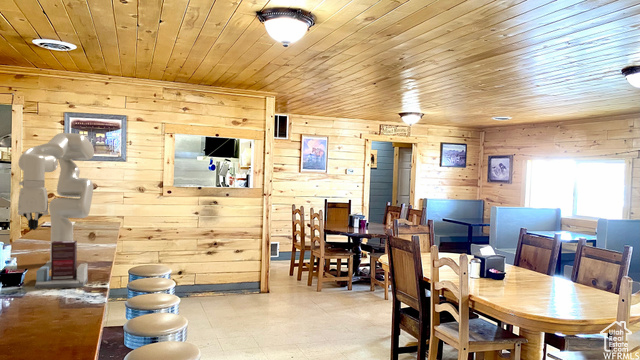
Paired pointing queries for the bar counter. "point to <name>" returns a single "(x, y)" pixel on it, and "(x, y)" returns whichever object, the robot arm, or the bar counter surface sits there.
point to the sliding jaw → (43, 273)
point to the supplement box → (63, 260)
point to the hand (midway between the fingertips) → (33, 229)
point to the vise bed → (79, 281)
